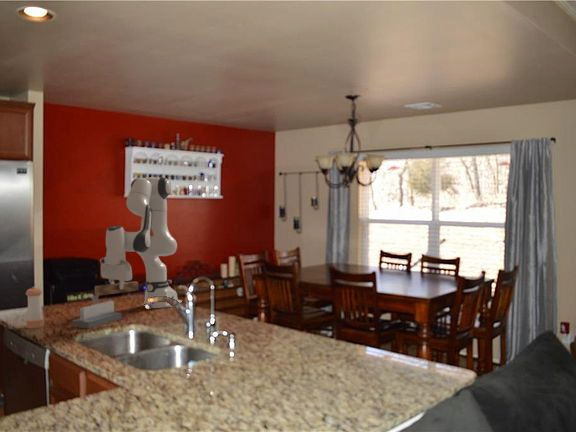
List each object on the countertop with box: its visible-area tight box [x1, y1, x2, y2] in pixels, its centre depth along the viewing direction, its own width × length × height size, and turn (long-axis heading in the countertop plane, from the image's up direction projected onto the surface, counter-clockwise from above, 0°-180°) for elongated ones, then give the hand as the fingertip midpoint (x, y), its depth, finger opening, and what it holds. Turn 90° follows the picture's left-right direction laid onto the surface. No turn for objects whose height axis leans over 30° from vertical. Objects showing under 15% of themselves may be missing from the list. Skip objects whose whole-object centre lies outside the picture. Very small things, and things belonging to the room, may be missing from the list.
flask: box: [91, 295, 100, 305], centre depth 287 cm, size 7×7×10 cm
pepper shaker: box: [25, 286, 44, 329], centre depth 263 cm, size 7×7×19 cm
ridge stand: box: [72, 300, 123, 330], centre depth 269 cm, size 22×10×9 cm, turn 155°
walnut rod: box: [94, 280, 139, 297], centre depth 266 cm, size 20×4×4 cm, turn 129°
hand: (117, 288), depth 266 cm, fingers closed on walnut rod, 5 cm apart
